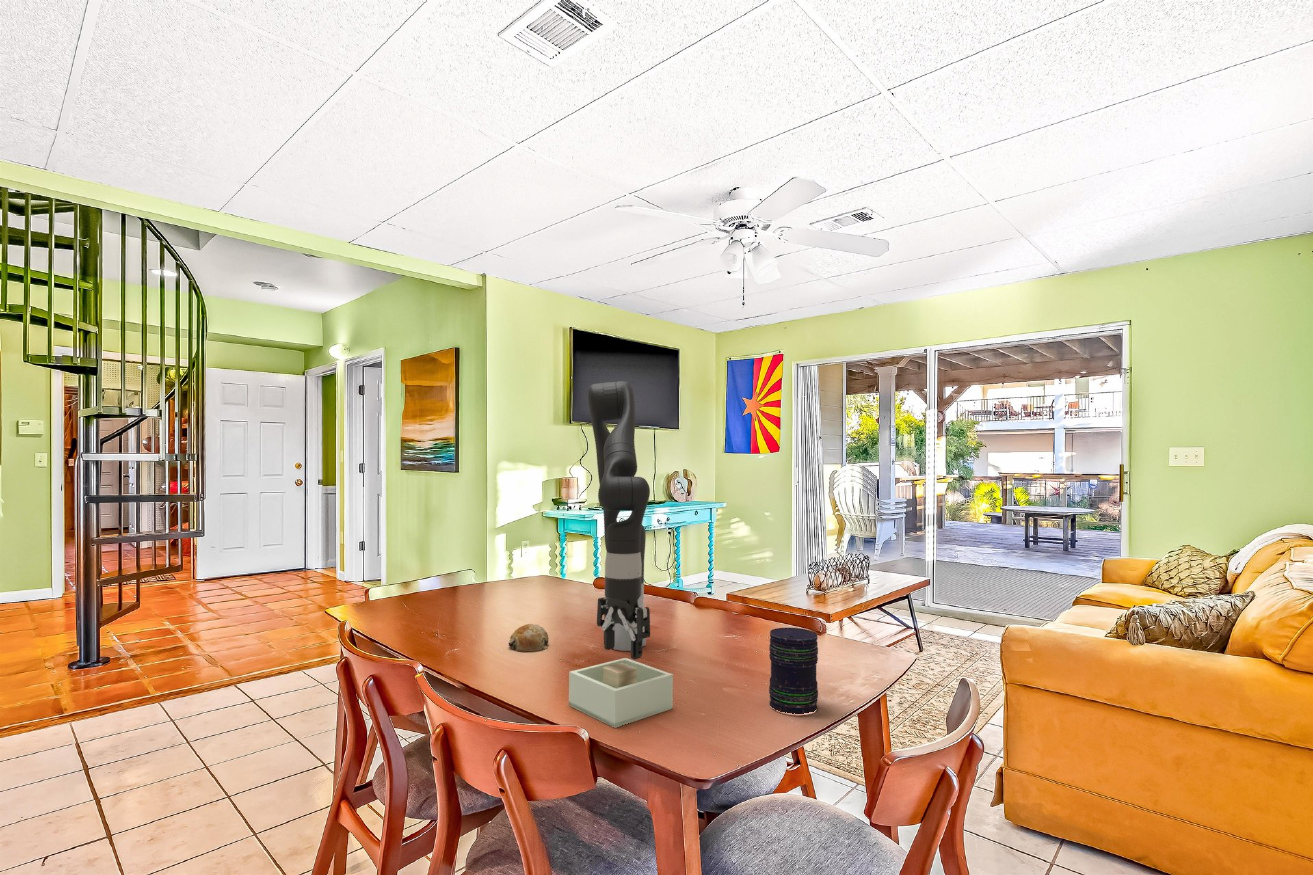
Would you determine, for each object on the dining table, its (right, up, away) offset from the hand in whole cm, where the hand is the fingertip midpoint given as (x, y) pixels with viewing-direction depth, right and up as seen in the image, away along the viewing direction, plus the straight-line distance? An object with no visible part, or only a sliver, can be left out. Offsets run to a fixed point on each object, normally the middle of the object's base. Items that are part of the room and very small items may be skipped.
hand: (622, 653), depth 132 cm
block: (-1, -10, 0) cm, 10 cm away
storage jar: (+35, -11, +1) cm, 37 cm away
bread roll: (-27, -13, +42) cm, 51 cm away
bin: (0, -11, -1) cm, 11 cm away
